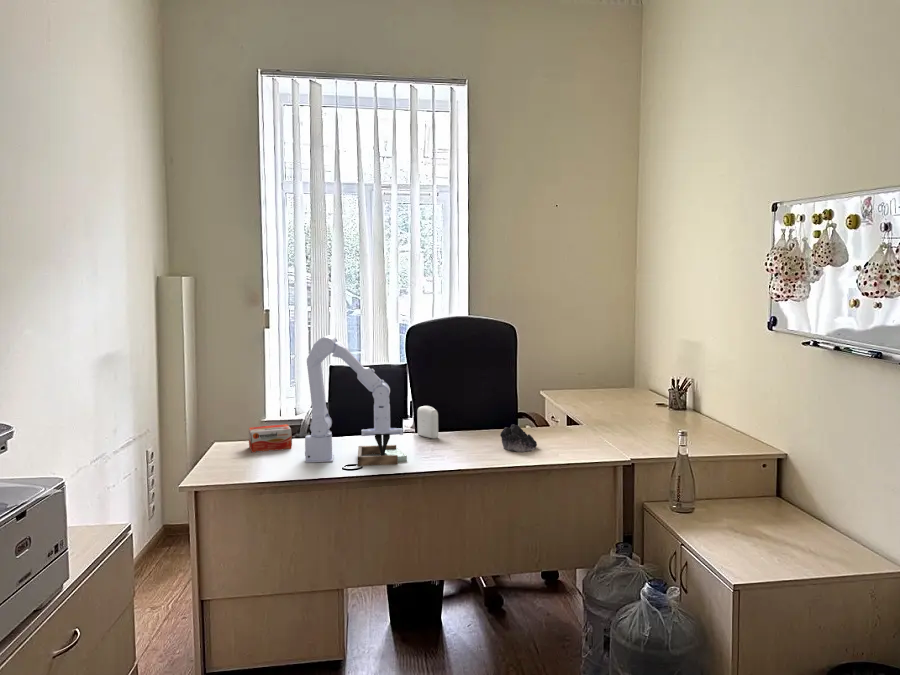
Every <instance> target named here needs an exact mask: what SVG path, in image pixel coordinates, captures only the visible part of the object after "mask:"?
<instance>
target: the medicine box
mask: <svg viewBox="0 0 900 675" xmlns="http://www.w3.org/2000/svg"><path fill="white" fill-rule="evenodd" d="M292 434H293V433H292V428H291V427H290V425H289V424H287V423H286V424H284V423H283V424H277V425H276V424H274V425H263V426H252V427H249V428H248V446H249V449H250V452H251V453H257V452H256V451H262V452H270V451H269V450H273V451H280V450H282V449H283V450H290V449H292V446H293V435H292Z"/></svg>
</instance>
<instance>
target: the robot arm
mask: <svg viewBox="0 0 900 675" xmlns="http://www.w3.org/2000/svg"><path fill="white" fill-rule="evenodd" d="M331 354H332V355H331ZM329 355H331V357H333V358H339V359H341V360H342V361H343V362H344V363H346V364H347V366H349V367H350V369H352V370H353V371H354V372H355V373H356V375H357V376H356V378H357V380H358V381H359V382H360V383H361V384H362V385H363V386H364V387H365V388H366V389H367V390H368V392H371V393H372V397H373V402H374V403H373V428H367V429H364V428H363V429H361V437H365V436H374V438H375V441H376V444H377V445H378V446H379V449H380V453H381V454H380V456H381V455H385V450H386V446H387V445H388V443H389V441H390V438H391V435H394V436H395V435H399V436H402V435H404V429H403V428H402V427H401V428H399V427H398V428H397V427H391V404H390V393H391V387H390V386H389V384H388V383H387V382H386V381H385V380H384V379H381V378H380V377H379V376H378V375H377V374H376V373H375V372H376V371H375V369H374V368H370V367H369V366H368V367H364V366H363V365H362V363H361V362H360V361H359V360H358V359H357V358H356V356H354V355H353V353H352V352H351V351H350V350H349V349H348V348H347V347H346V346H345V345H344V344H343V343H342V342H341V341H340V340H338V339H337V338H336V337H335V336H334V335H330V334H326V335H324V336H322V337H321V338H319V339H318V340H317V341H316V342H315V343H314V344H313V346H312V348H311V349H310V352H309V354H308V356H307V357H306V366H307V373H308V374H307V377H308V384H309V391H310V401H311V423H310V426H309V430H310V432H311V433H310V434H307V435H305V439H304V457H305V458H304V459H305V461H304V463H327V462H328V463H329V462H330V463H331V462H332V463H333V461H334V458H335V454H333V434H332V431H331V430H330V428H332V424H333V420H332V418H331V417H330V414H329V409H328V408H327V401H326V392H325V383H324V376H323V367H322V362H324V360H325V359H326V358H327V357H328V356H329ZM382 445H383V450H382Z"/></svg>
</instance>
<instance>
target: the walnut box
mask: <svg viewBox="0 0 900 675" xmlns="http://www.w3.org/2000/svg"><path fill="white" fill-rule="evenodd" d="M357 447H358V449H357V466H358V467H359V466H361V467H362V466H386V465H387V466H388V465H389V466H391V465H392V466H393V465H398V463H399V462H398V455H381V453H380V449H379V446H378V444H377V445H359V446H357ZM388 449H397V444H387V446H386V450H388ZM382 450H383V444H382Z"/></svg>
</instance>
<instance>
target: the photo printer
mask: <svg viewBox="0 0 900 675" xmlns="http://www.w3.org/2000/svg"><path fill="white" fill-rule="evenodd" d="M416 412H417V435H418V436H421V437H424V438H428V439H437V438H438V437H439V412H438V410H437V409H435V408H434V407H433V406H430V405H423V406H419V407H418V408H417V411H416Z"/></svg>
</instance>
